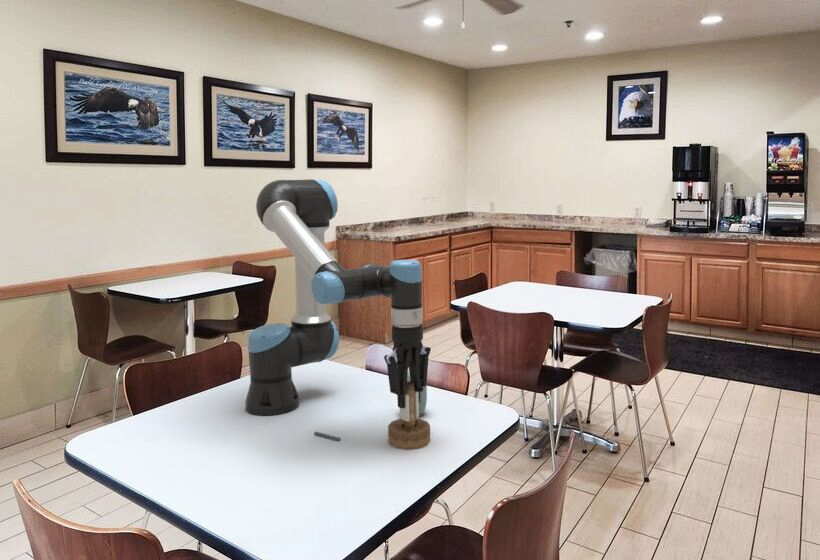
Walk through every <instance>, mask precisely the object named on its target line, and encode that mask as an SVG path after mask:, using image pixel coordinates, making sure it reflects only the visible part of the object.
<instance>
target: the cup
mask: <svg viewBox="0 0 820 560" xmlns="http://www.w3.org/2000/svg"><path fill="white" fill-rule="evenodd" d="M407 381H410V374H408V375H407ZM422 388H423V391H422V392H420V403H419V416H421V415H422V414H424V412H425V410H426V407H427V404H428V403H427V402H428V400H427V399H428V384H427V385H426V387H422Z"/></svg>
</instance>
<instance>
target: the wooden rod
mask: <svg viewBox="0 0 820 560" xmlns="http://www.w3.org/2000/svg"><path fill="white" fill-rule="evenodd" d="M406 394H407V395H409V421H404V424H405V428H407V429H410V428H415V414H414V382H412V381H407V389H406Z"/></svg>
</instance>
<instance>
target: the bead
mask: <svg viewBox="0 0 820 560" xmlns="http://www.w3.org/2000/svg"><path fill="white" fill-rule="evenodd" d="M387 428H388V429H387V432H388V437H387V439H388V443H389V445H390V446H392V447H394V448H396V449H401V450H417V449H420V448H424V447H426V446H428V445H429V443H430V442H431V425H430V423H429V422H428V421H427V420H425V419H422V418H415V428H410V429H407V428H405V424H404V420H402V419H400V418H398V419H394V420H392V421H391V422H390V423H389V424H388V425H387Z"/></svg>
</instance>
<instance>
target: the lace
mask: <svg viewBox="0 0 820 560" xmlns="http://www.w3.org/2000/svg"><path fill="white" fill-rule="evenodd" d="M313 435H314V436H317V437H321V438H324V439H329V440H333V441H336V442H339V441H341V437H338V436H335V435H331V434H327V433H323V432H319V431H315V432H313Z"/></svg>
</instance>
